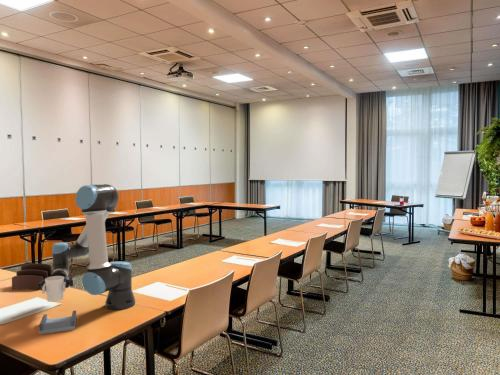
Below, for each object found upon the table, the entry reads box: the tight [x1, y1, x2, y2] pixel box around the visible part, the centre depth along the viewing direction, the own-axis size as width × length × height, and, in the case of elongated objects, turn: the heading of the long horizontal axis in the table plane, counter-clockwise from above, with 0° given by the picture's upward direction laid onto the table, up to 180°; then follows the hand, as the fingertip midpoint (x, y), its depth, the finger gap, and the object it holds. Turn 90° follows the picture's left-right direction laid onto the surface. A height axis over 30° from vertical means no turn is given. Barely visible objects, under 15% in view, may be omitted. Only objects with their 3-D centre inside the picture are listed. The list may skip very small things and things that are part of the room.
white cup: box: [45, 276, 65, 303], centre depth 176 cm, size 8×8×10 cm
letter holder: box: [11, 262, 53, 291], centre depth 237 cm, size 10×20×14 cm, turn 87°
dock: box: [38, 310, 77, 335], centre depth 175 cm, size 14×14×4 cm
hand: (53, 289), depth 171 cm, fingers closed on white cup, 8 cm apart
